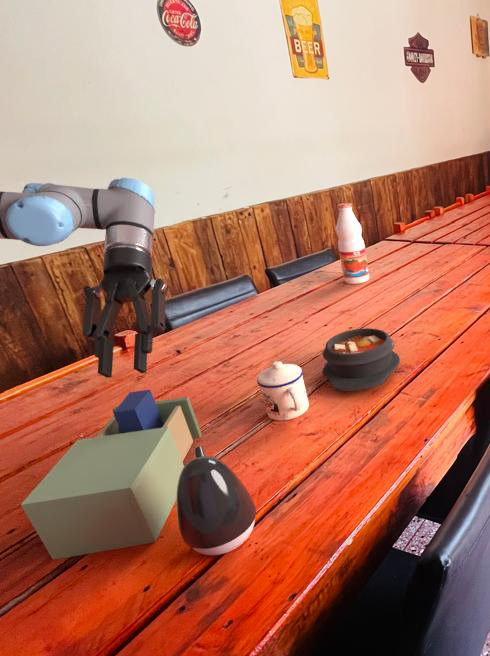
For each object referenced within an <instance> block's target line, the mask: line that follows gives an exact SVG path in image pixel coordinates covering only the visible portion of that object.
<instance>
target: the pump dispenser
mask: <svg viewBox="0 0 490 656" xmlns="http://www.w3.org/2000/svg"><path fill="white" fill-rule="evenodd" d="M194 457H195V458H192V459H191V460H189V461H188V462H186V464H185V465H184V468H183V469H182V471H181V474H180V476H179V480H178V485H177V500H176V516H177V523H178V528H179V532H180V536H181V539H182V541H183V543H184V544H185V545H187V546H189V547H190V548H191V549H193V550H194V551H195V552H197V553H198V554H202V555H204V556H205V555H206V556H220V555H224V554H227V553H230V552H232V551H233V550H235V549H237V548H239V547H240V546H241V545H243V544H244V543H245V542H246V541H247V539H248V538H249V537H250V535H251V533H252V532H253V529H254V527H255V521H256V517H257V507H256V505H255V501H254V498H253V497H252V496H251V494H250V492H249V490H248V489H247V488H246V485H245V484H244V483H243V481H242V480H241V479H240V478H239V476H238V475H237V474H236V473H235V472H234V471H233V469H232V468H231V467H229V466H228V465H227V464H226V463H224V462H223V461H221V460H220V459H218V458H217V457H214V456H210V455H205V451H204V447H203V446H200V445H198V446H196V447H195V448H194Z"/></svg>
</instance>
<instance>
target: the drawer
mask: <svg viewBox="0 0 490 656" xmlns="http://www.w3.org/2000/svg"><path fill="white" fill-rule="evenodd" d="M155 403H156V405H157V408H158V410H159V413H160V415H161V418H162V421H163V423H164V425H163V427H162V428H164V427H169V428H170V431H171V434H172V436H173V439H174V442H175V444H176V447H177V449H178V452H179V454H180V457H181V460H182V462H183V463H184V461H185V458H186V456H187V455H188V453H189V451H190V449H191V447H192V446H193V444H194V440H196V439H201V438H202V436H203V433H202V432H201V431H202V430H201V428H200V425H199V423H198V419H197V417H196V414H195V411H194V407H193V406H192V402H191V400H190V397H189V396H185V397H178V398H171V399H163V400H155ZM117 407H118V406H114V407H113V409H112V413H113V412H114V411H115V410H116V408H117ZM121 433H122V432H121V429H120V427H119V425H118V423H117V420H116V418H115V416H114V414H113V415H112V416H111V418H110V419H108V422H106V424H105V425H104V426H103V427H102V428H101V430H100V431H99V432H98V433H97V434H96V436H95V437H100V436H107V435H114V434H121Z"/></svg>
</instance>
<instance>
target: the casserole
mask: <svg viewBox="0 0 490 656" xmlns="http://www.w3.org/2000/svg"><path fill="white" fill-rule="evenodd" d="M395 346H396V345H395V341H394V340H393V339H392V338H391V337H390V335H389V334H388V333H387V331H384V330H381V329H379V328H370V327H369V328H365V327H364V328H356V329H355V328H354V329H350V330H346V331H343V332H340V333H337V334H336V335H334V336H332V337H330V338H329V339H328V340H327V341H326V343H325V347H324V349H323V351H322V357H323V359H324V360H325V361H326V363H325V364H324V365H323V367H322V374H323V377H325V378H326V379H327V380H328V381H329V382H330V384H331V386H332V388H333V389H335V390H338V391H349V392H350V391H352V392H353V391H362V390H367V389H371V388H375V387H377V386H380V385H382V384H384V383H385V382H386V380H387V379H388V378H389V377H390V375H391V374H392V373H393V372H394V371H395V370H396V369H397V368H398V367H399V365H400V364H401V358H400V355H398V353H396V352H395V351H393V350H394V349H395Z"/></svg>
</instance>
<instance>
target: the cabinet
mask: <svg viewBox="0 0 490 656" xmlns="http://www.w3.org/2000/svg"><path fill="white" fill-rule="evenodd" d="M184 466H185V465H184V461H183V462H182V460H181V457H180V454H179V452H178V449H177V447H176V444H175V442H174V439H173V436H172V434H171V431H170V428H169V427H164V428H157V429H150V430H143V431H135V432H128V433H121V434H114V435H107V436H100V437H96V436H94V437H87V438H80V439H77V440H76V441H75V442H74V443H73V444H72V445H71V446H70V448H69V449H68V450H67V451H66V452H65V453H64V454H63V456H62V457H61V458H60V459H58V461H57V463H55V465H53V467H52V468H51V469H50V470H49V472H48V473H47V474H46V475H45V476H44V477H43V478H42V480H41V481H39V483H38V484H37V485H36V486H35V488H34V489H33V490H32V491H31V492H30V493H29V495H28V496H27V497H26V498H25V499H24V500H23V501H22V503H21V504H20V506H21V508H22V511H24V513H25V515H26V517H27V518H28V520H29V521H30V523H31V525H32V527H33V529H34V530H35V532H36V533H37V536H38V537H39V539H40V540H41V542H42V544H43V545H44V547H45V549H46V550H47V552H48V554H49V555H50V558H51V559H52V560H60V559H64V558H65V559H67V558H71V557H77V556H82V555H88V554H95V553H100V552H101V553H102V552H106V551H112V550H118V549H125V548H129V547H135V546H142V545H146V544H152V543H156V542H157V540H158V538H159V536H160V534H161V532H162V530H163V528H164V526H165V524H166V522H167V520H168V519H169V516H170V514H171V512H172V510H173V507H174V506H175V504H176V503H177V485H178V480H179V476H180V474H181V471H182V469H183V468H184Z"/></svg>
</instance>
